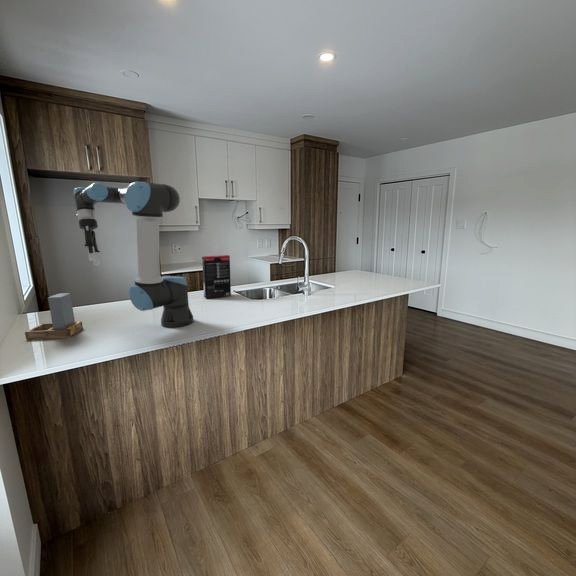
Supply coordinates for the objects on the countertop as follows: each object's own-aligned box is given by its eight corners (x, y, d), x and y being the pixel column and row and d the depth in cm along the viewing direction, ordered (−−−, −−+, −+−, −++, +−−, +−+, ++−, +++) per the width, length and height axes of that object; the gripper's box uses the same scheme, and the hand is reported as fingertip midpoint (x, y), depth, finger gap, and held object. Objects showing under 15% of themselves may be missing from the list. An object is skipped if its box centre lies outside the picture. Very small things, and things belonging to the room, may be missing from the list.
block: (64, 329, 146) (58, 293, 143) (76, 328, 147) (70, 293, 143) (54, 335, 138) (47, 297, 135) (66, 334, 139) (60, 297, 135)
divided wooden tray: (43, 330, 147) (41, 321, 146) (84, 328, 149) (82, 319, 148) (26, 339, 135) (24, 330, 134) (70, 337, 137) (69, 327, 137)
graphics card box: (228, 294, 216) (226, 254, 210) (232, 296, 210) (230, 255, 204) (203, 297, 208) (200, 256, 202) (206, 299, 202) (203, 257, 196)
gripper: (83, 227, 163) (90, 267, 163) (72, 212, 141) (80, 259, 140) (100, 226, 166) (107, 265, 166) (92, 211, 144) (100, 257, 143)
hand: (95, 262), depth 153 cm, fingers open, 13 cm apart
